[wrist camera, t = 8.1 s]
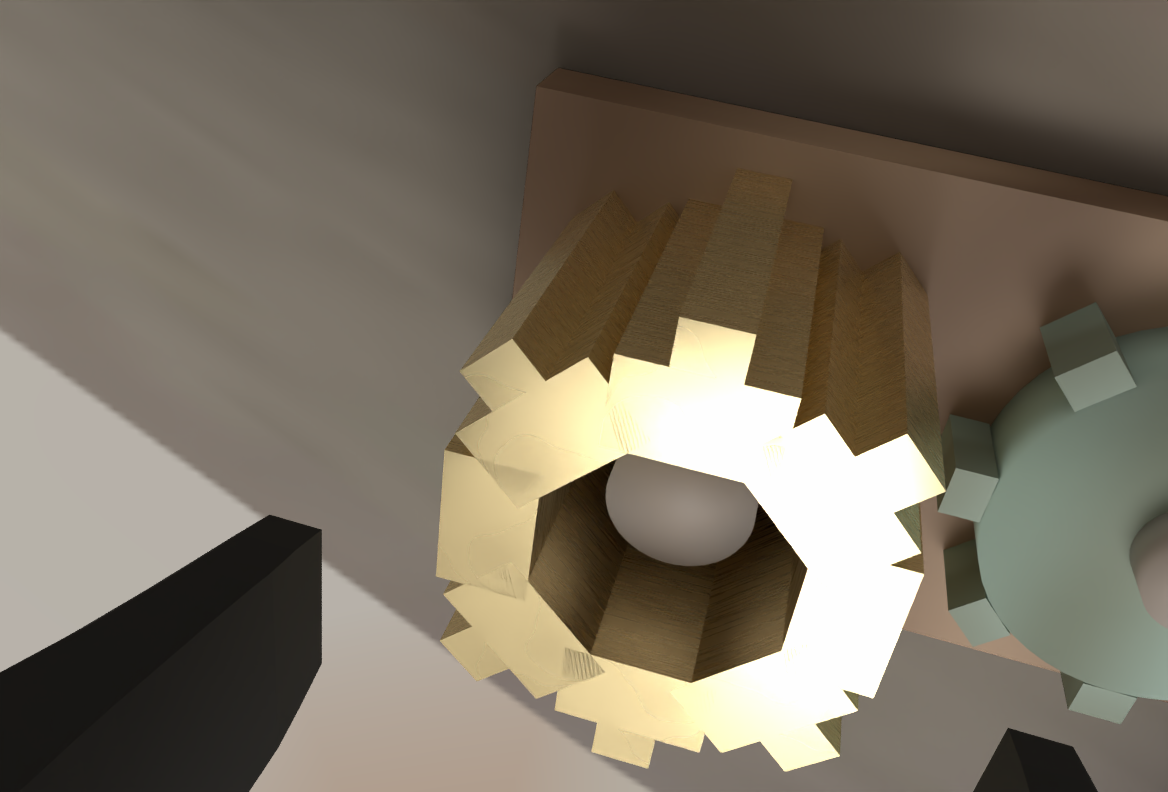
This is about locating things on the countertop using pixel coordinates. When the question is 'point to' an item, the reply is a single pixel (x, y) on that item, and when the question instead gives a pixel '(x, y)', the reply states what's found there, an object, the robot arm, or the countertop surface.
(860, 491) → the brass gear
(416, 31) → the countertop surface
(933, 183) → the gear board
